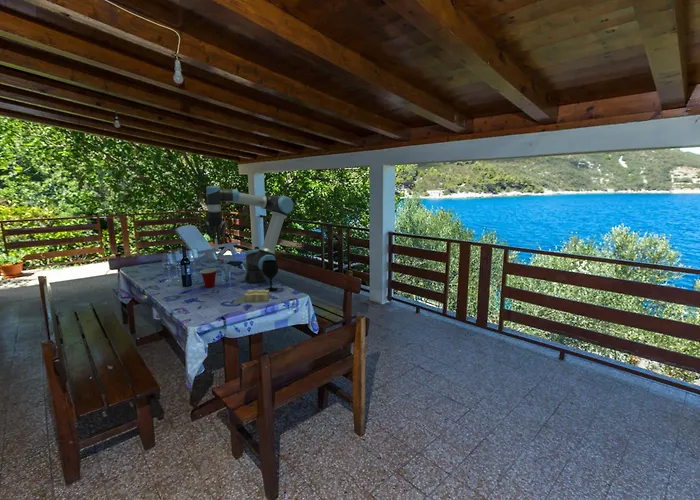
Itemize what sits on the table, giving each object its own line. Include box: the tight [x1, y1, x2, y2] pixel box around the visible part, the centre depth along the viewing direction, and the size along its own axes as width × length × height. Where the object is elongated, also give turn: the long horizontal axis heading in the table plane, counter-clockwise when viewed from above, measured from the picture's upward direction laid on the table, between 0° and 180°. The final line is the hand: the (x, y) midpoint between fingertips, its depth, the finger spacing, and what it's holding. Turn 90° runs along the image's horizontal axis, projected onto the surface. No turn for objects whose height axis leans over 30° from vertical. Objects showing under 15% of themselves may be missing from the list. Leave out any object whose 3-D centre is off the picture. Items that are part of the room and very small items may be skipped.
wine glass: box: [262, 259, 280, 293], centre depth 229 cm, size 10×10×20 cm
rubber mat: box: [233, 293, 272, 305], centre depth 212 cm, size 16×20×1 cm
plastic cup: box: [199, 267, 218, 289], centre depth 237 cm, size 11×11×12 cm
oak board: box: [244, 289, 270, 302], centre depth 212 cm, size 10×4×13 cm
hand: (217, 249), depth 217 cm, fingers closed
